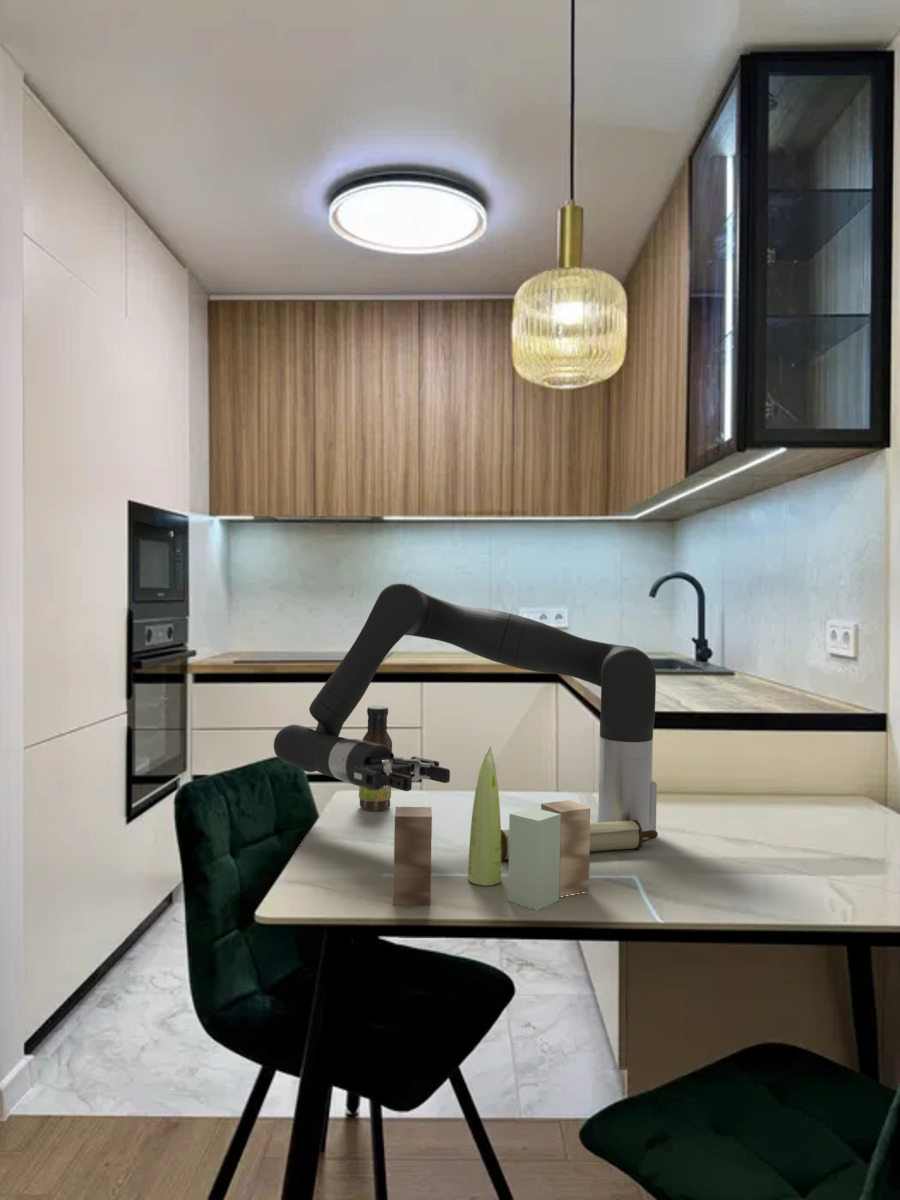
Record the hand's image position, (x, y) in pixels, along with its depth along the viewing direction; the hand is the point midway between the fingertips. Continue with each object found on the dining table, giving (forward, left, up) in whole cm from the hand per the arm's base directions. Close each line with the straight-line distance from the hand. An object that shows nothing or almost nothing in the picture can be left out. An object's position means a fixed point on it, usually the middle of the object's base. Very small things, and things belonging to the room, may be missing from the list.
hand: (429, 780), depth 128 cm
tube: (-6, +10, -13) cm, 17 cm away
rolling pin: (-24, +1, -13) cm, 27 cm away
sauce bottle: (+1, -34, -13) cm, 37 cm away
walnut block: (+6, +14, -13) cm, 20 cm away
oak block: (-16, +16, -13) cm, 26 cm away
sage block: (-10, +19, -13) cm, 25 cm away
